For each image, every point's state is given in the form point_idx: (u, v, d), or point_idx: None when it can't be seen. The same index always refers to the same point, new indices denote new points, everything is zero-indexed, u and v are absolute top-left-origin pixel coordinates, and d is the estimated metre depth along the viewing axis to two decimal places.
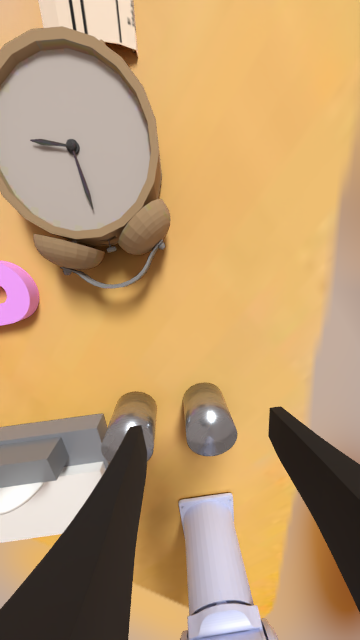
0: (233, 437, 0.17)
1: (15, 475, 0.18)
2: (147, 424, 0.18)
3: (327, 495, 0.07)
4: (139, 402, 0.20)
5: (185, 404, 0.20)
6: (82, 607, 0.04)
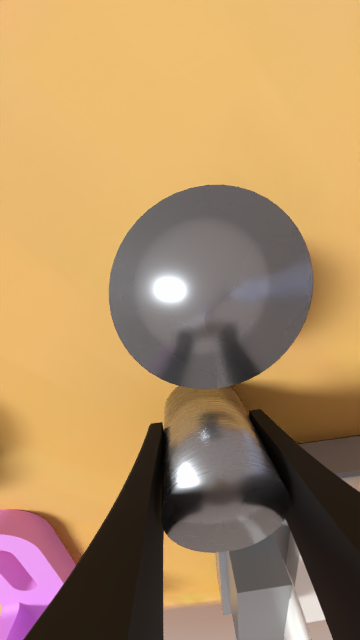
0: (226, 204, 0.04)
1: (263, 619, 0.11)
2: (182, 447, 0.07)
3: (296, 499, 0.07)
4: (165, 423, 0.10)
5: None
6: (134, 599, 0.04)
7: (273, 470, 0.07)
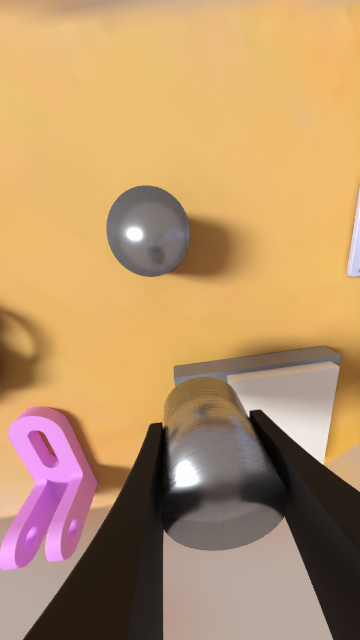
0: (151, 192, 0.10)
1: None
2: (181, 446, 0.07)
3: (297, 500, 0.07)
4: (164, 423, 0.10)
5: None
6: (134, 599, 0.04)
7: (271, 468, 0.07)
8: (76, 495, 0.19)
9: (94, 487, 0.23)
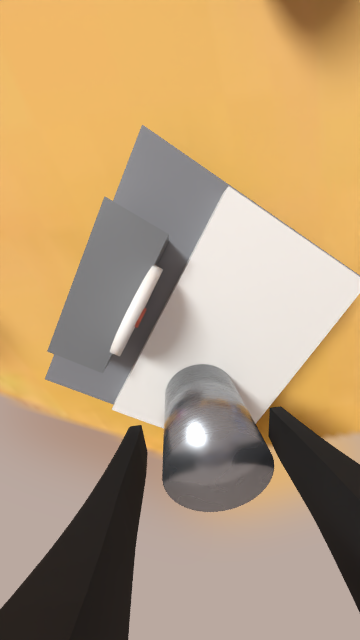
0: None
1: (107, 290, 0.09)
2: (179, 420, 0.08)
3: (327, 495, 0.07)
4: (165, 405, 0.11)
5: None
6: (82, 607, 0.04)
7: (257, 434, 0.08)
8: None
9: None
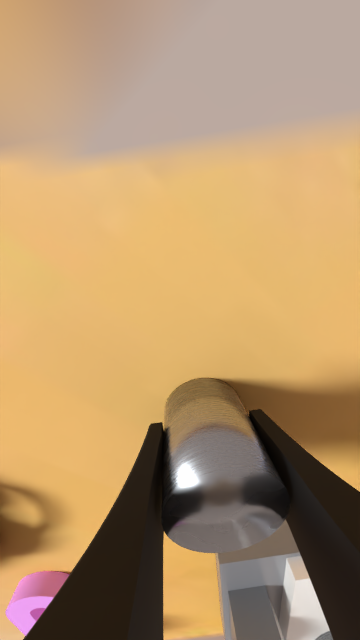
0: (244, 476, 0.06)
1: None
2: None
3: (296, 499, 0.07)
4: None
5: None
6: (134, 599, 0.04)
7: None
8: None
9: None
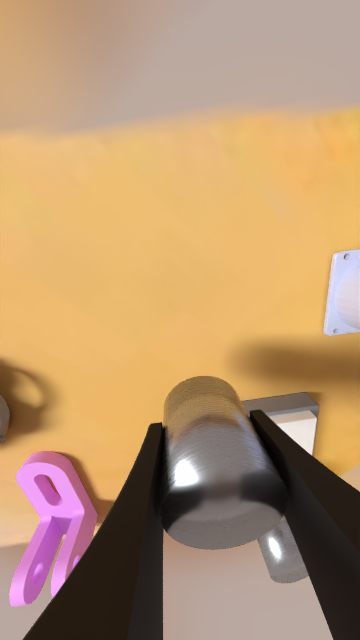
0: (240, 471, 0.06)
1: None
2: (263, 551, 0.17)
3: (297, 499, 0.07)
4: None
5: None
6: (134, 599, 0.04)
7: (296, 546, 0.16)
8: (78, 533, 0.21)
9: (95, 520, 0.24)
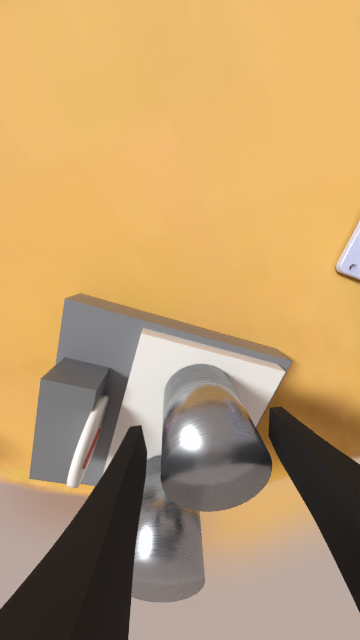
0: (226, 438, 0.07)
1: (62, 433, 0.11)
2: None
3: (327, 495, 0.07)
4: None
5: None
6: (82, 607, 0.04)
7: (168, 547, 0.09)
8: None
9: None
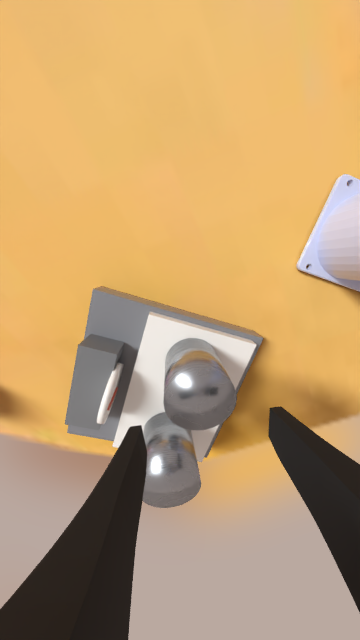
0: (205, 374, 0.11)
1: (90, 387, 0.15)
2: None
3: (327, 495, 0.07)
4: None
5: None
6: (82, 607, 0.04)
7: (168, 462, 0.13)
8: None
9: None
